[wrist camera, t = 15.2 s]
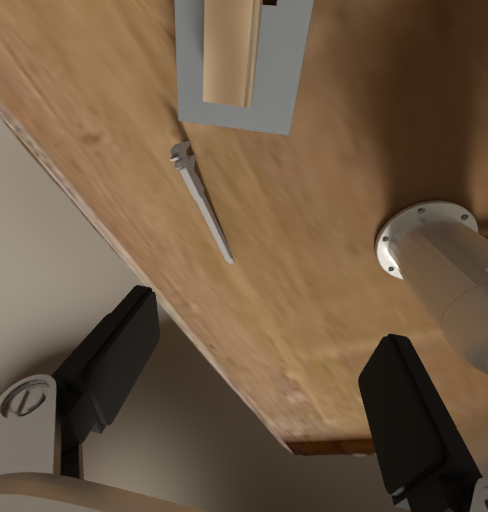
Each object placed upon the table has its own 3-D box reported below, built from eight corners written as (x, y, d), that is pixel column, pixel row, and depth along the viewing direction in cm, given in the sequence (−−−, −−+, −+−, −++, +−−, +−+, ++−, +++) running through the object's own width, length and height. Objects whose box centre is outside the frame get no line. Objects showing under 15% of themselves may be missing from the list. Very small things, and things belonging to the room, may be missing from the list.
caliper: (183, 142, 34) (164, 147, 29) (190, 139, 34) (171, 144, 28) (229, 262, 43) (221, 283, 38) (235, 261, 43) (228, 282, 37)
